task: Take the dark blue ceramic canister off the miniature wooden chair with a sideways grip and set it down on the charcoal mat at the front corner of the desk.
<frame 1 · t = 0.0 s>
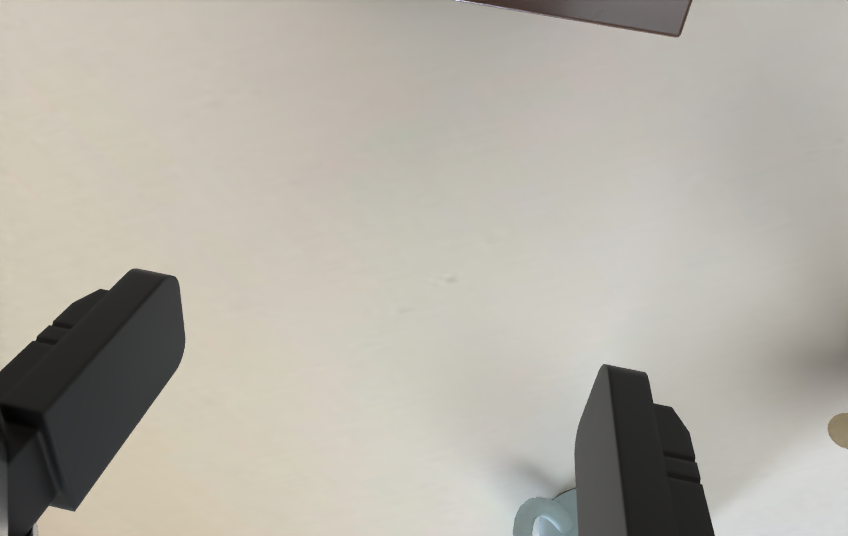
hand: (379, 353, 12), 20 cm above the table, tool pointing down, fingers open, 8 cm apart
mug: (586, 508, 44), on the table
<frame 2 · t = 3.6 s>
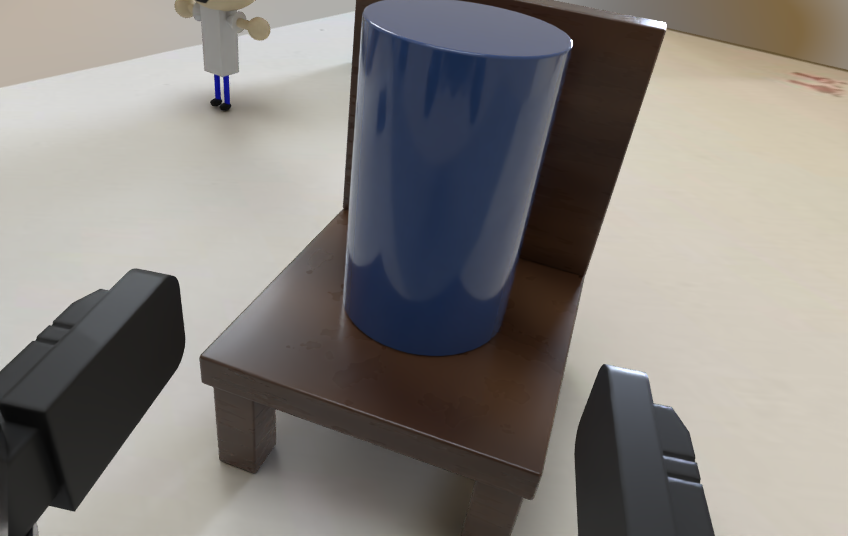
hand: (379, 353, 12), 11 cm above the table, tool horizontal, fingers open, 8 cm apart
miniature wooden chair: (408, 400, 27), on the table
toy: (224, 109, 50), on the table
canister: (424, 301, 24), point 5 cm above the table, touching miniature wooden chair
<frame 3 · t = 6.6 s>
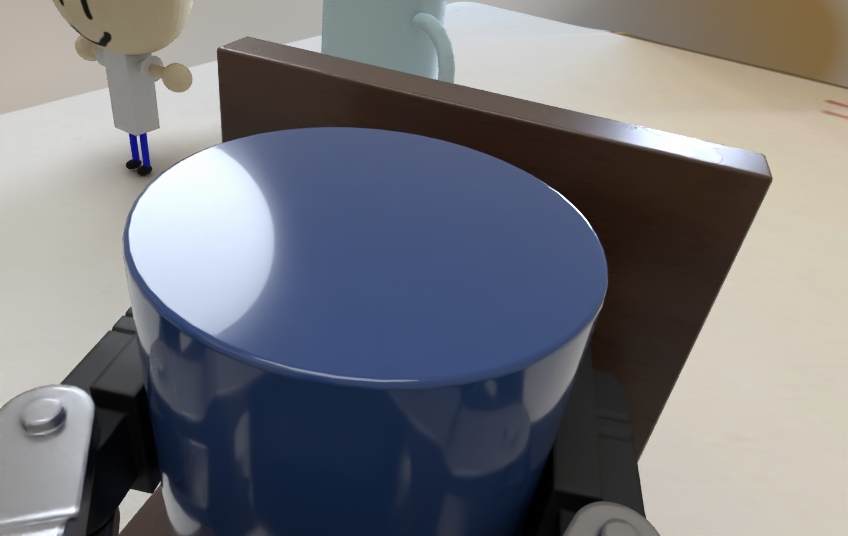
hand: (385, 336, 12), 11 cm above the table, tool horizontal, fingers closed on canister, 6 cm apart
mug: (389, 123, 52), on the table
toy: (145, 173, 40), on the table
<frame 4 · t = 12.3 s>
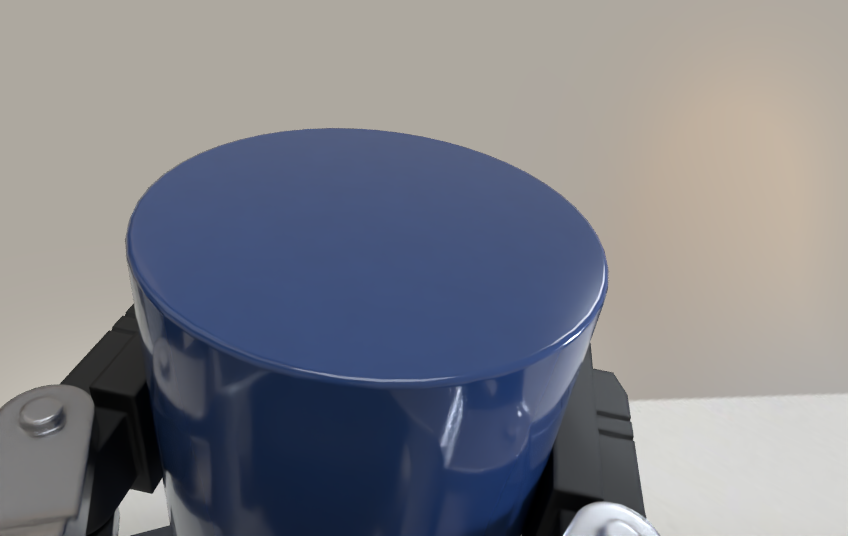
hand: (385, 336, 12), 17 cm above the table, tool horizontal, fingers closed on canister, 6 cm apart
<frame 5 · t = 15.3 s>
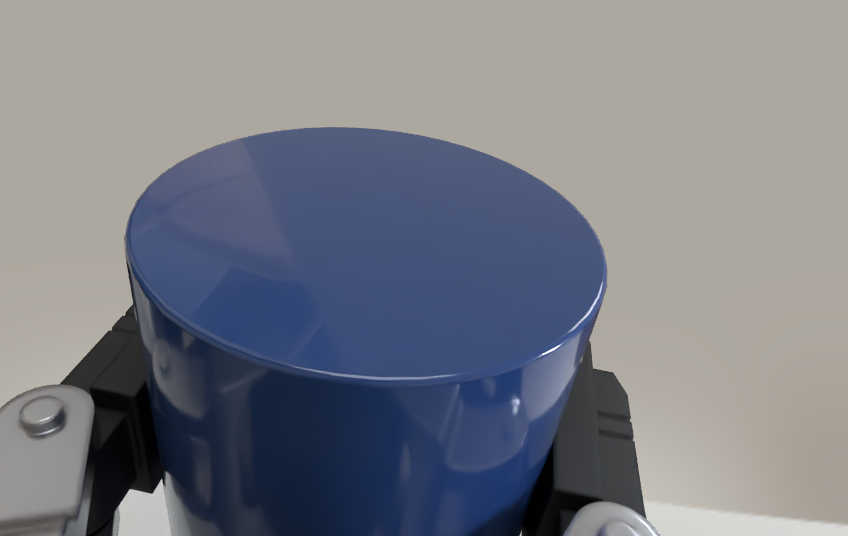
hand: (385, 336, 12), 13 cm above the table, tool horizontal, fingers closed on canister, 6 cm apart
when the fingers open (7 cm above the table, at t = 17.8 s): canister stays where it is, resting on mat.
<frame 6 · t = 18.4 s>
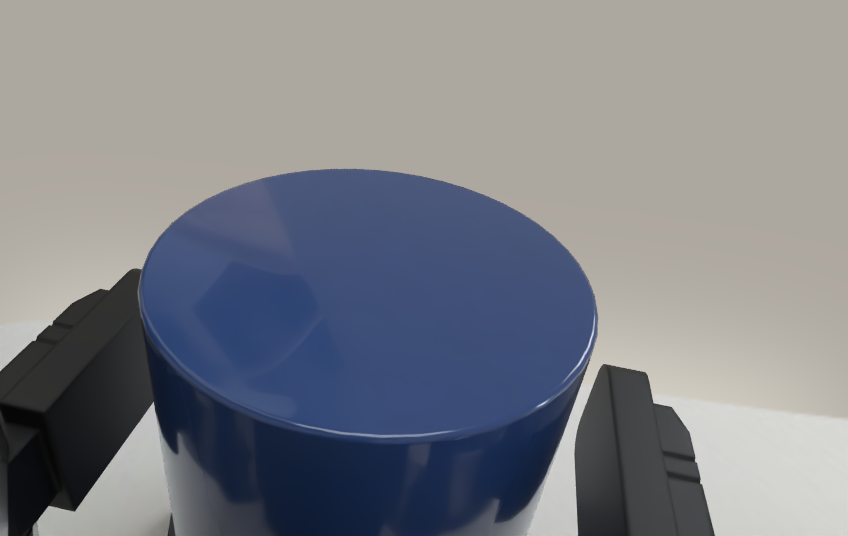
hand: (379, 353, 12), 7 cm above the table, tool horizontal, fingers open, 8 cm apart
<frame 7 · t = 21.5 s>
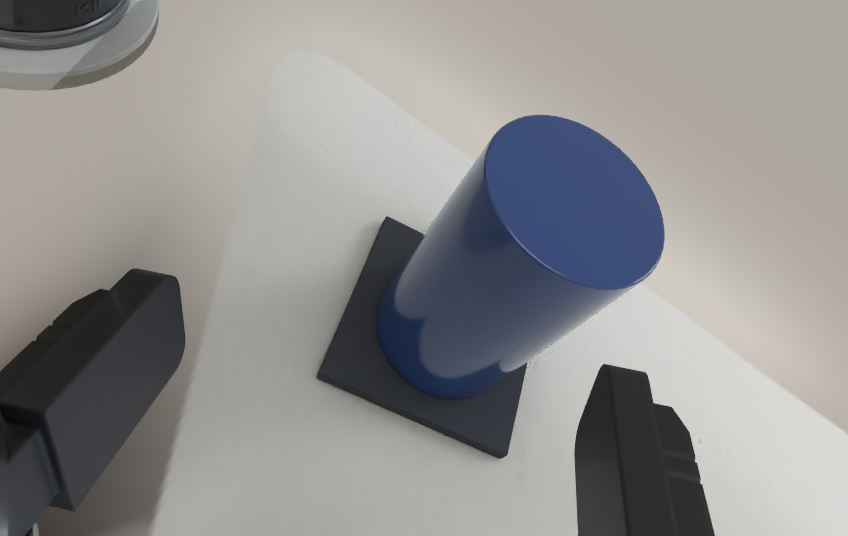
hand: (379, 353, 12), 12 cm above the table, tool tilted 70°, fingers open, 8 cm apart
mat: (437, 333, 27), on the table
canister: (444, 329, 26), point 1 cm above the table, touching mat
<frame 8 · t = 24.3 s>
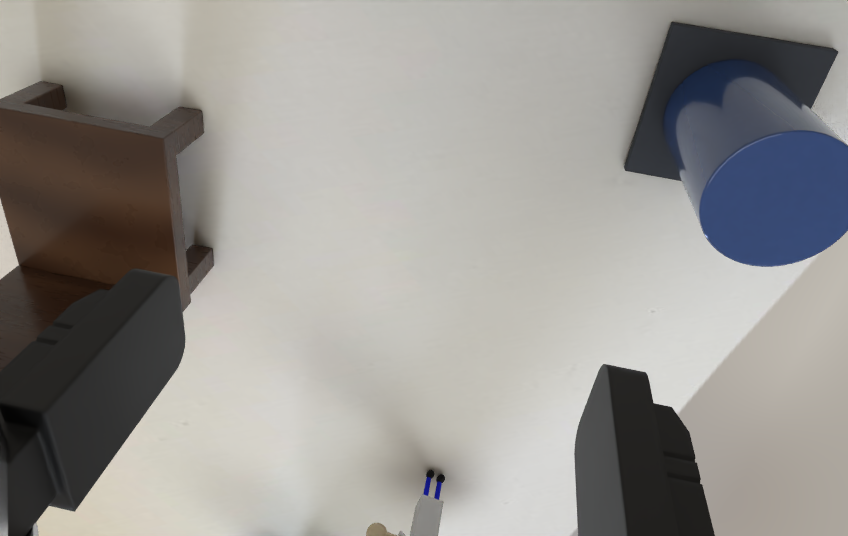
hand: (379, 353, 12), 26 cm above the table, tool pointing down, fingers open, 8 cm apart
mat: (721, 111, 34), on the table
miniature wooden chair: (133, 179, 42), on the table
toy: (434, 473, 54), on the table
canister: (722, 117, 33), point 1 cm above the table, touching mat
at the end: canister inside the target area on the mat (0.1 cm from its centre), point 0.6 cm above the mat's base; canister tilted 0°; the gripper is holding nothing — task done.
